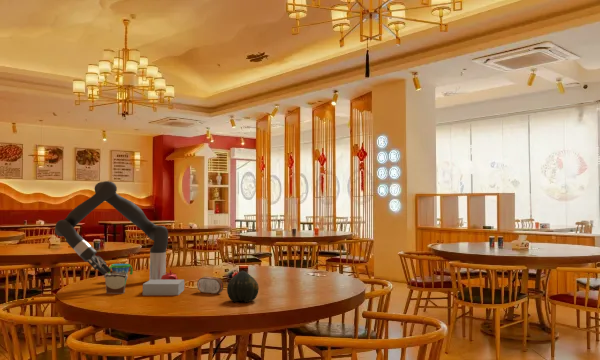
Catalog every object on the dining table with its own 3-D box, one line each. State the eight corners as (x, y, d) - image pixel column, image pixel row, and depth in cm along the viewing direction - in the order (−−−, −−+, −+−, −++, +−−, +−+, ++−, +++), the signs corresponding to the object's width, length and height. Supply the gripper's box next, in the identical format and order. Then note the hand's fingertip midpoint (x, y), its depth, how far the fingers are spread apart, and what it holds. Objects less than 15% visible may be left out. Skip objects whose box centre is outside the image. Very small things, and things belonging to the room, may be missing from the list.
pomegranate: (156, 287, 284) (157, 270, 285) (167, 284, 293) (168, 268, 294) (171, 288, 280) (171, 271, 281) (182, 285, 290) (182, 269, 290)
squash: (241, 294, 233) (254, 267, 242) (217, 292, 240) (230, 266, 250) (256, 311, 241) (268, 284, 250) (231, 308, 249) (244, 283, 258)
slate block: (150, 290, 275) (150, 279, 275) (184, 290, 275) (184, 279, 276) (142, 296, 259) (142, 284, 259) (178, 295, 259) (178, 284, 260)
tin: (223, 294, 264) (223, 277, 264) (220, 295, 261) (220, 278, 261) (199, 291, 270) (199, 275, 271) (196, 292, 267) (196, 276, 268)
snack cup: (128, 279, 314) (128, 262, 314) (136, 281, 306) (136, 264, 306) (103, 281, 303) (103, 264, 303) (111, 283, 295) (111, 266, 296)
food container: (131, 291, 269) (131, 272, 269) (126, 293, 263) (126, 274, 263) (109, 291, 270) (109, 272, 271) (103, 293, 264) (104, 273, 264)
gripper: (86, 246, 259) (109, 269, 260) (94, 244, 273) (116, 265, 274) (75, 257, 258) (98, 279, 259) (84, 254, 272) (105, 275, 273)
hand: (107, 272), depth 266 cm, fingers open, 8 cm apart
